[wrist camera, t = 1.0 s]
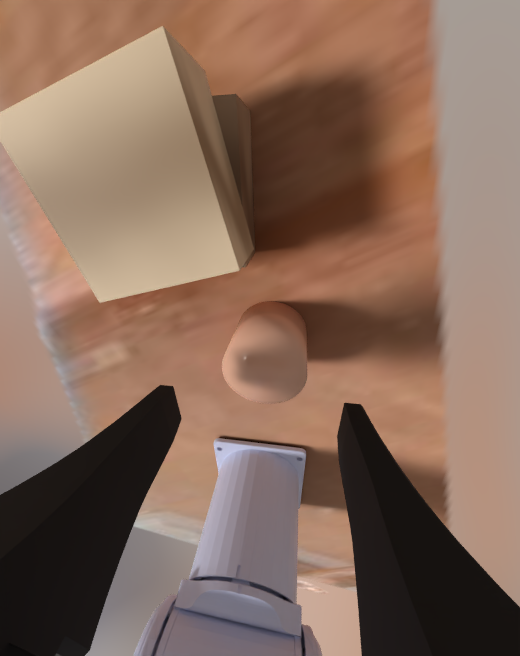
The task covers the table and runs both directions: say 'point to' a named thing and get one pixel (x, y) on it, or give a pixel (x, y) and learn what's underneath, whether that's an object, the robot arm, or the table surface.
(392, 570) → the robot arm
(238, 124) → the tower base
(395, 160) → the table surface
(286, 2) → the table surface
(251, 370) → the tan cylinder
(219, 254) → the tower top
